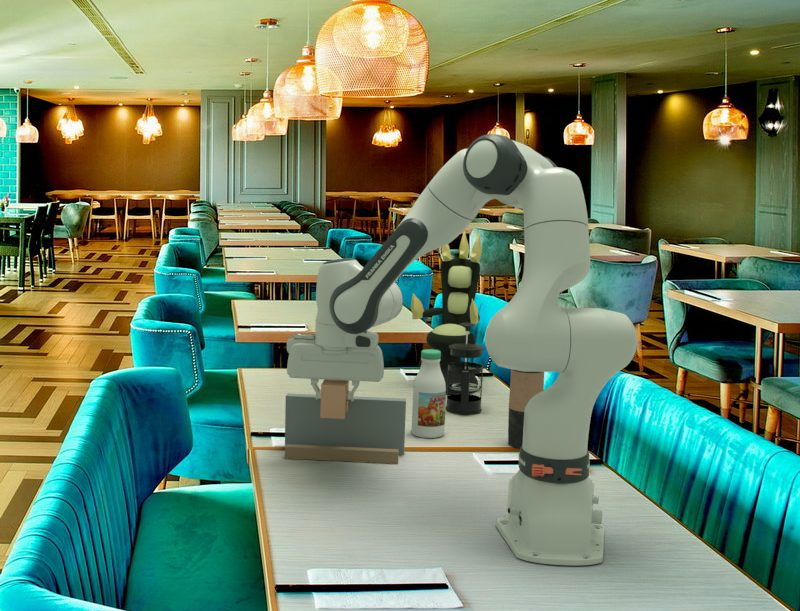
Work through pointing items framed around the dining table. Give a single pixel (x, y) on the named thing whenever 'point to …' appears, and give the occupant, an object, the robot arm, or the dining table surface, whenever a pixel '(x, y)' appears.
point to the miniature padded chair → (454, 306)
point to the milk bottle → (429, 397)
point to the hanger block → (334, 399)
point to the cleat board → (345, 430)
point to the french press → (465, 378)
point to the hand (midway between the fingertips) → (334, 399)
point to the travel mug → (521, 401)
